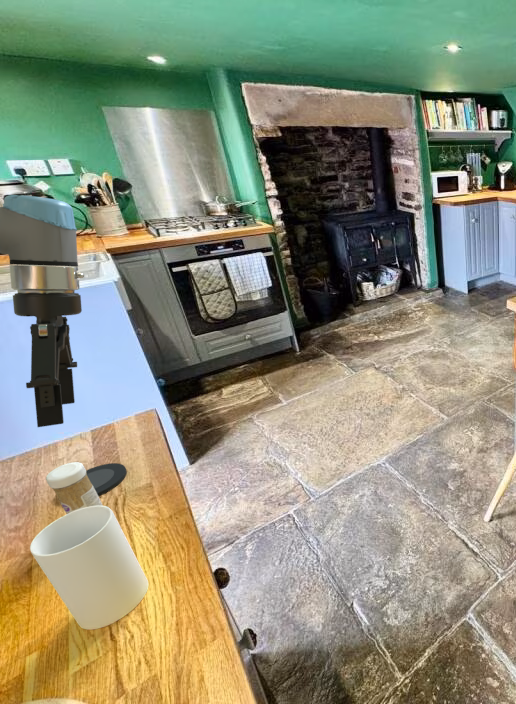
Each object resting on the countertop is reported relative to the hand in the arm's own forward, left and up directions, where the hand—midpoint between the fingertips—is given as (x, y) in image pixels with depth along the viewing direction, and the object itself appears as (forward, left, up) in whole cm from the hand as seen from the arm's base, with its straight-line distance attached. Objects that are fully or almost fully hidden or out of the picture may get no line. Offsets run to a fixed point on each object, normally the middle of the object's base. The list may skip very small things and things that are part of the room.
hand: (57, 413), depth 70 cm
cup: (+18, -17, -22) cm, 33 cm away
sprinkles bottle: (+2, -4, -22) cm, 23 cm away
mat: (-8, +6, -22) cm, 24 cm away
